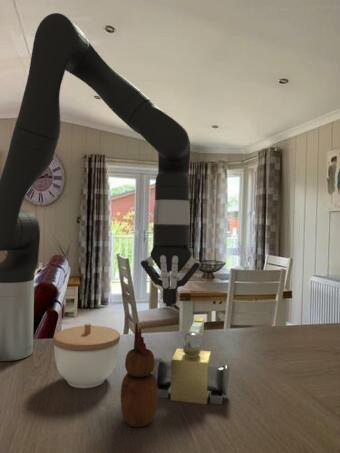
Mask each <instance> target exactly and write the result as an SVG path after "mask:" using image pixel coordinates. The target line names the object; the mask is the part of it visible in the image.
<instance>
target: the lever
mask: <svg viewBox="0 0 340 453" xmlns="http://www.w3.org/2000/svg"><path fill="white" fill-rule="evenodd" d="M204 325H205V317H197V316H196V317H194V320H193V322H192V325H191V326H190V329H189V330H188V331H185V332H183V337H182V338H183V342H182V343H183V346H182V349H183V352H184V353H186V354H190V355H195V354H199V353H201V351H202V348H201V347H202V337H203V335H204V331H205V330H204V328H205V326H204Z"/></svg>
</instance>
